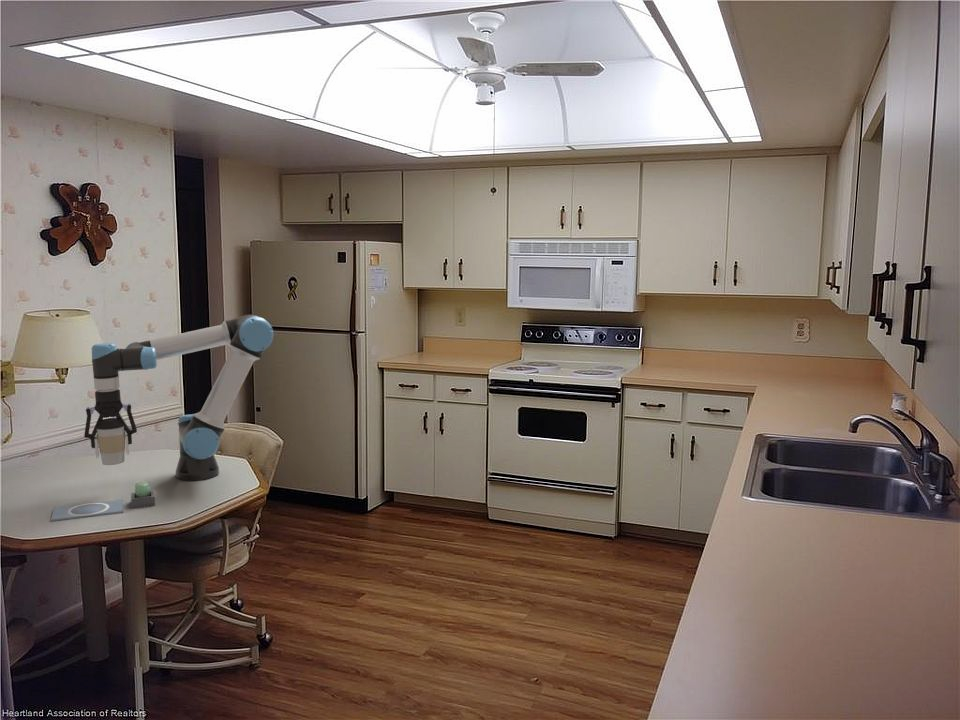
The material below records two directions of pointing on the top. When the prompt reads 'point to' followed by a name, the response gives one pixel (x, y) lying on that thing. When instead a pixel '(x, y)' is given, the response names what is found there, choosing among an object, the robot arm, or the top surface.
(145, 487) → the button
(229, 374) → the robot arm
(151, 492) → the button housing
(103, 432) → the coffee cup
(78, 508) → the slate board
